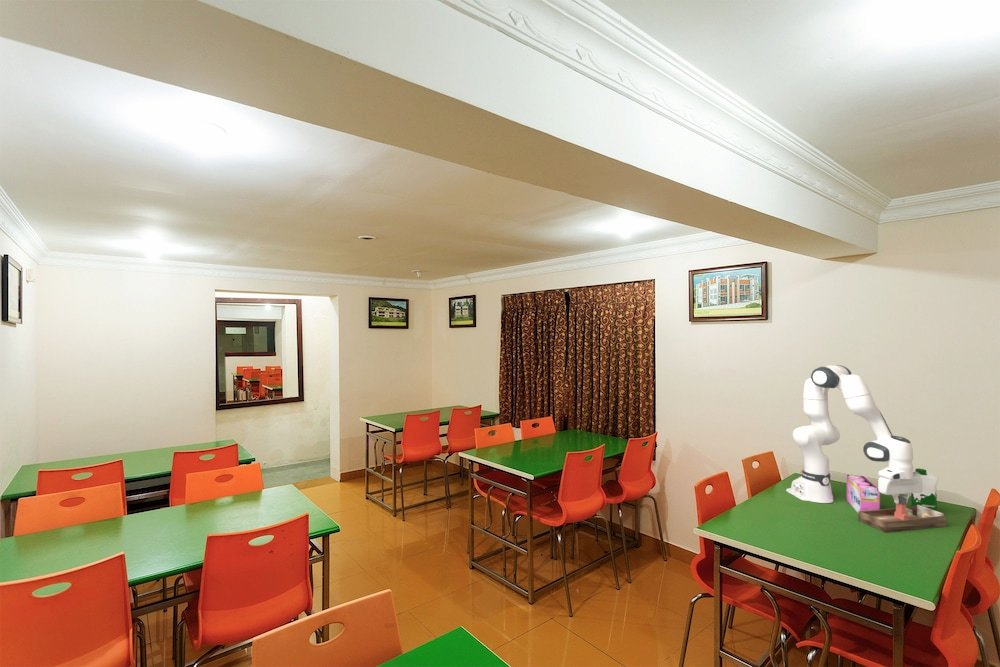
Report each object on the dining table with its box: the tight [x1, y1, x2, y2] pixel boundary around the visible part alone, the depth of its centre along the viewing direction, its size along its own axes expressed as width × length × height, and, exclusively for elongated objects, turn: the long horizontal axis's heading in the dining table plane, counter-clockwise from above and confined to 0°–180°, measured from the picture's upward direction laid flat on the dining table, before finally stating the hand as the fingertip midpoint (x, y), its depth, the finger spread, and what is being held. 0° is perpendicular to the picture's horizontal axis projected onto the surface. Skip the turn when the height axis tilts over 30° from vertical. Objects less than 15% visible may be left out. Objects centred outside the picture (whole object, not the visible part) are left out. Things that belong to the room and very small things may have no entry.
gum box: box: [846, 474, 881, 513], centre depth 236 cm, size 24×8×14 cm, turn 158°
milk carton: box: [910, 468, 939, 511], centre depth 230 cm, size 9×9×20 cm
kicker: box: [894, 495, 908, 520], centre depth 217 cm, size 4×2×10 cm, turn 9°
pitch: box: [857, 505, 947, 533], centre depth 217 cm, size 13×32×6 cm, turn 99°
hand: (900, 502), depth 217 cm, fingers closed on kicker, 2 cm apart
